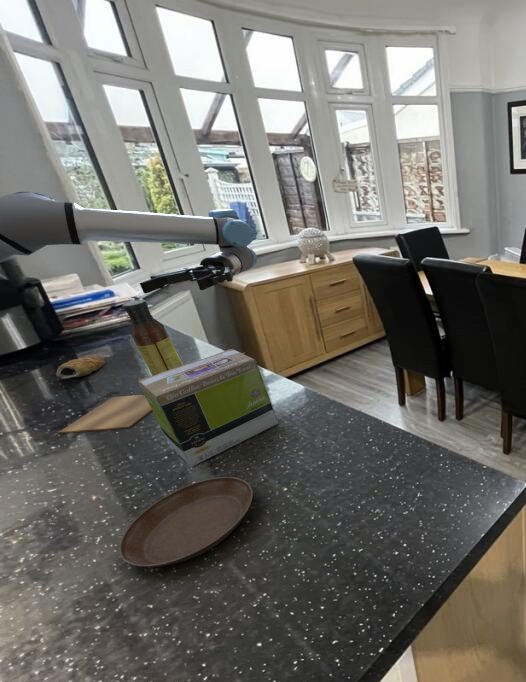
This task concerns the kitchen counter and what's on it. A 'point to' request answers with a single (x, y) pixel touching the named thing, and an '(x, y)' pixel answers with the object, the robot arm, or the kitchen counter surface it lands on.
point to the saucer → (186, 522)
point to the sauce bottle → (151, 339)
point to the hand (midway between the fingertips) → (171, 286)
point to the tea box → (210, 404)
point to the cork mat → (112, 415)
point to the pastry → (79, 367)
